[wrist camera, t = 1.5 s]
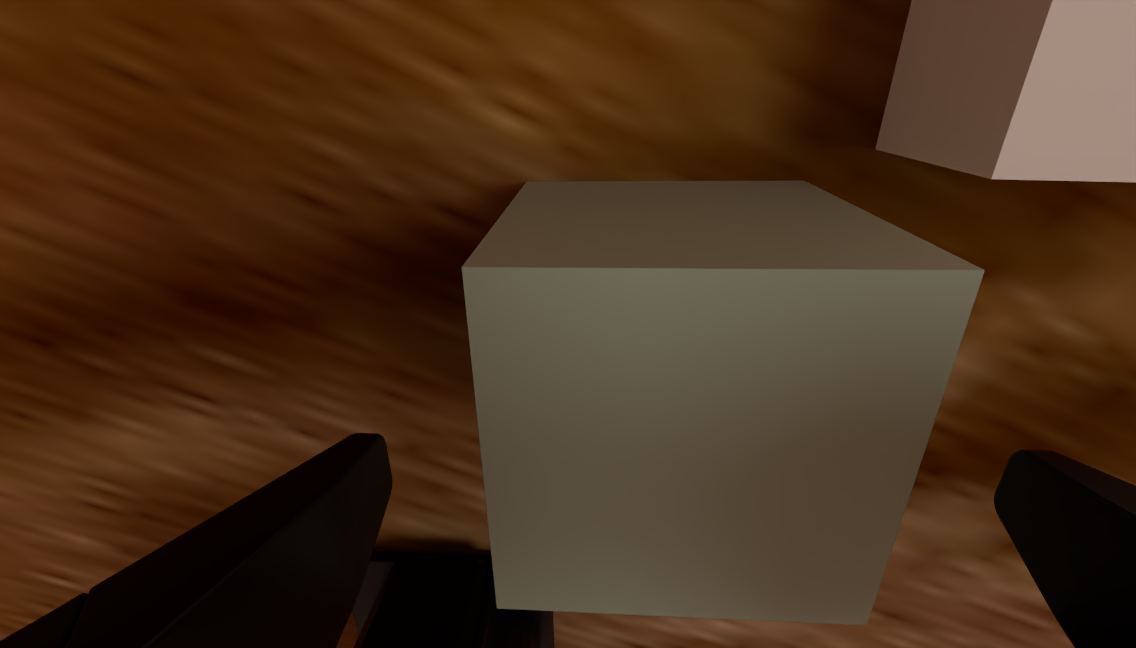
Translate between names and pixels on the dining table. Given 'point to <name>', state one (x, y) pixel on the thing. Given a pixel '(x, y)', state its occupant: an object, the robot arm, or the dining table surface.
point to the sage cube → (704, 395)
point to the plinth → (1017, 89)
